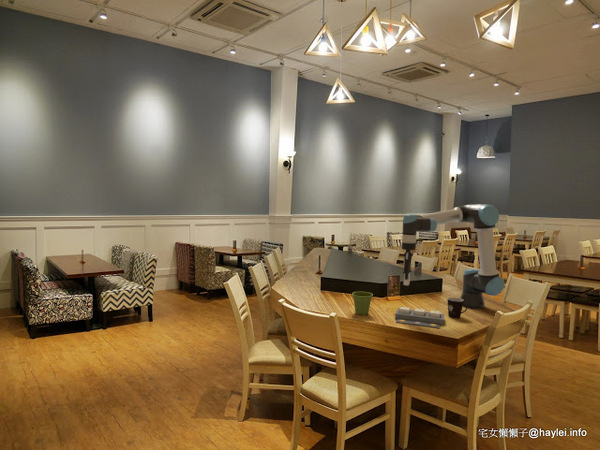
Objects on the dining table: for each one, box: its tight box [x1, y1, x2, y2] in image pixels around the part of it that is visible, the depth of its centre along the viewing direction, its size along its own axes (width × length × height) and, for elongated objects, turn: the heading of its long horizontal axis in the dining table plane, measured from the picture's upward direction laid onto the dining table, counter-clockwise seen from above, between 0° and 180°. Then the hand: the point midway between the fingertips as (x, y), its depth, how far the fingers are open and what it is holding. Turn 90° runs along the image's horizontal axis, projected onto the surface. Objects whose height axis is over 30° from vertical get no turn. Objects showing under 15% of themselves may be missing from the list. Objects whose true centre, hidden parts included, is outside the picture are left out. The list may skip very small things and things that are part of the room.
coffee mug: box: [446, 297, 468, 319], centre depth 243 cm, size 12×9×10 cm
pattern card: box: [395, 319, 441, 329], centre depth 229 cm, size 22×6×1 cm, turn 69°
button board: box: [394, 307, 445, 326], centre depth 237 cm, size 25×12×3 cm, turn 69°
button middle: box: [414, 308, 426, 316], centre depth 237 cm, size 5×5×2 cm
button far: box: [400, 306, 411, 314], centre depth 240 cm, size 5×5×2 cm
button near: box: [429, 310, 441, 318], centre depth 234 cm, size 5×5×2 cm
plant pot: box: [351, 291, 374, 316], centre depth 244 cm, size 12×12×11 cm
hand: (406, 284), depth 239 cm, fingers open, 3 cm apart
